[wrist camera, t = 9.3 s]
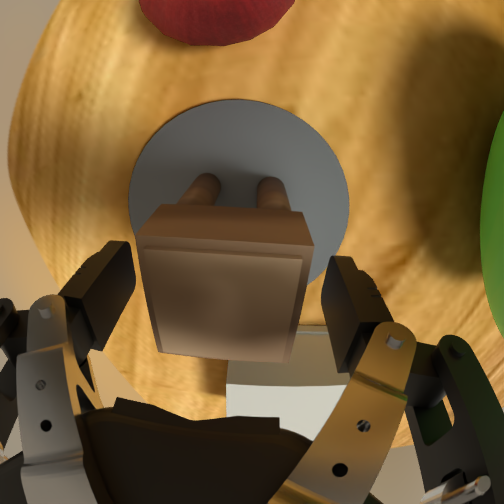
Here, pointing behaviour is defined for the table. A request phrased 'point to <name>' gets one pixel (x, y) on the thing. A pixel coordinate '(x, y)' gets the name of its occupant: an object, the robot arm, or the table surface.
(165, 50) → the table surface
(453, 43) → the table surface
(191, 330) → the walnut stool
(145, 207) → the charcoal felt mat
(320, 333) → the white square box
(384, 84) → the table surface
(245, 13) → the onion
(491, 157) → the toy bird
